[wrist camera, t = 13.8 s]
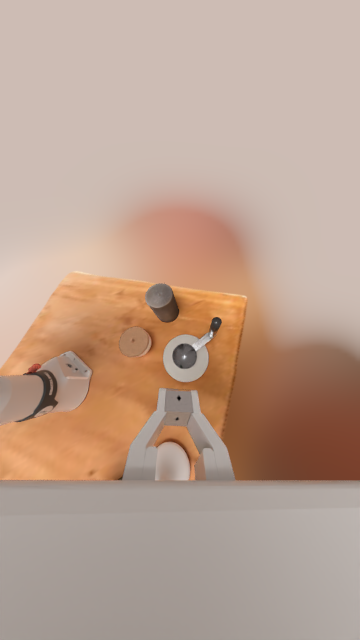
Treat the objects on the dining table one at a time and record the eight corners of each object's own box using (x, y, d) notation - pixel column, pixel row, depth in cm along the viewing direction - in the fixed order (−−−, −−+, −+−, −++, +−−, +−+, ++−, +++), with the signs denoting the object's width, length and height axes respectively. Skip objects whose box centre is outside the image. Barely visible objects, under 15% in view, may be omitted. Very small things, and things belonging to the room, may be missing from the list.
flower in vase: (191, 442, 38) (182, 552, 15) (189, 496, 34) (172, 760, 11) (150, 435, 40) (85, 523, 17) (143, 485, 36) (47, 690, 13)
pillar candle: (183, 309, 55) (178, 289, 41) (168, 327, 53) (158, 311, 39) (166, 298, 58) (157, 276, 44) (152, 314, 56) (137, 295, 42)
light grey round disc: (156, 357, 49) (154, 356, 46) (185, 328, 51) (184, 326, 48) (186, 392, 43) (185, 393, 40) (217, 357, 46) (218, 356, 43)
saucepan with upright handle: (183, 374, 42) (176, 376, 29) (169, 354, 45) (158, 348, 32) (221, 341, 44) (231, 330, 31) (206, 325, 47) (209, 308, 34)
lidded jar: (160, 341, 51) (152, 335, 42) (143, 364, 48) (131, 363, 40) (141, 327, 54) (130, 319, 46) (124, 348, 52) (109, 344, 43)
